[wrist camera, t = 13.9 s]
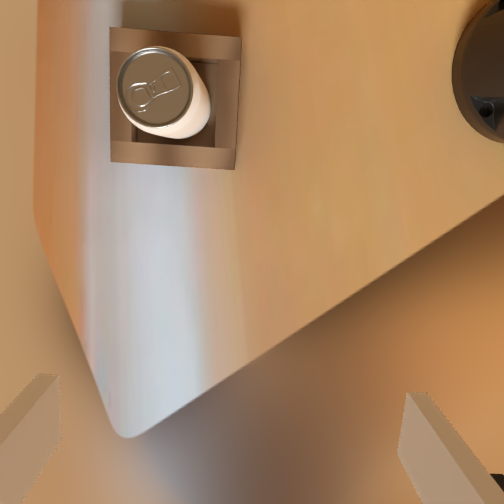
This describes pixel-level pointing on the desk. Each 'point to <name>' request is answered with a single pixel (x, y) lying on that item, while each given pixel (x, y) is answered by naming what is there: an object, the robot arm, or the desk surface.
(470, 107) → the robot arm
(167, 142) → the holder
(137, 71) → the can
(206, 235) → the desk surface
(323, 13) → the desk surface
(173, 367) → the desk surface
